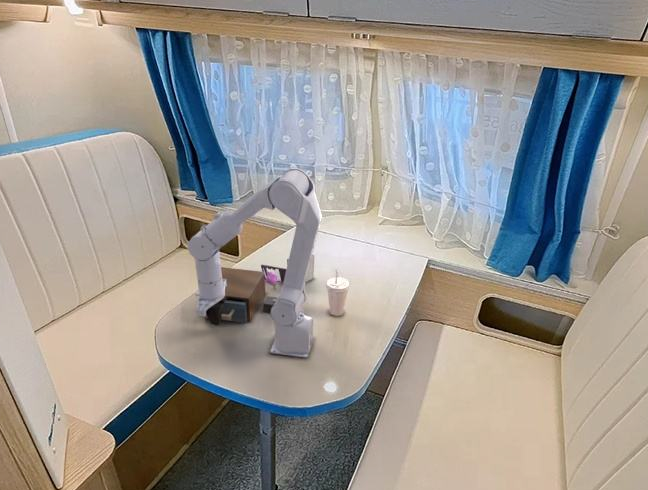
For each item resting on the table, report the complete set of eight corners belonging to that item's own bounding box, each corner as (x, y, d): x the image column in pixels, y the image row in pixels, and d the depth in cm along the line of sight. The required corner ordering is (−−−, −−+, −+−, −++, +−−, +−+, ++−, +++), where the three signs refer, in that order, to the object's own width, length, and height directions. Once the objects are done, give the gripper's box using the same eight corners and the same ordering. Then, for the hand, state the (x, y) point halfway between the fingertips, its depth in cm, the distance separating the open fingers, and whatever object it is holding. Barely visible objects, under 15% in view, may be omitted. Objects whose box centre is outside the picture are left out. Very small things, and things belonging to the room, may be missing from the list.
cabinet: (250, 321, 117) (248, 298, 113) (202, 316, 118) (199, 292, 114) (265, 293, 129) (264, 271, 125) (222, 288, 130) (219, 266, 126)
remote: (267, 304, 124) (267, 295, 123) (294, 307, 124) (294, 298, 122) (263, 311, 121) (263, 303, 119) (291, 315, 120) (291, 306, 119)
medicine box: (304, 274, 140) (304, 250, 136) (314, 278, 138) (314, 254, 133) (286, 283, 135) (286, 258, 130) (297, 288, 133) (297, 263, 128)
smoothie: (321, 308, 124) (323, 265, 116) (342, 303, 126) (344, 261, 118) (330, 320, 119) (332, 276, 111) (351, 315, 121) (354, 272, 114)
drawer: (241, 332, 111) (239, 313, 108) (195, 326, 112) (192, 308, 109) (260, 296, 126) (259, 279, 123) (220, 291, 127) (218, 274, 124)
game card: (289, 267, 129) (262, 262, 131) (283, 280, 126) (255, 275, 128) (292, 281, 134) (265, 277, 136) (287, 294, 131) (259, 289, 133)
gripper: (205, 262, 109) (211, 306, 116) (180, 291, 97) (188, 339, 104) (232, 265, 108) (236, 309, 116) (210, 295, 96) (216, 342, 103)
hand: (215, 323), depth 110 cm, fingers closed
